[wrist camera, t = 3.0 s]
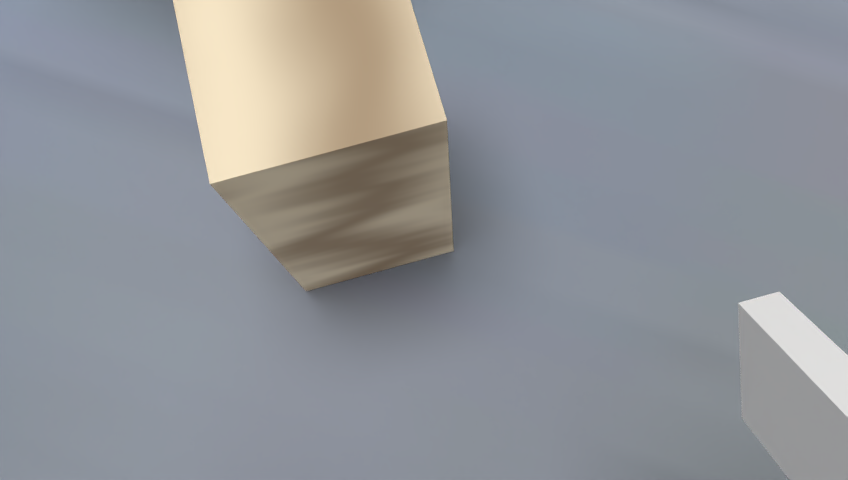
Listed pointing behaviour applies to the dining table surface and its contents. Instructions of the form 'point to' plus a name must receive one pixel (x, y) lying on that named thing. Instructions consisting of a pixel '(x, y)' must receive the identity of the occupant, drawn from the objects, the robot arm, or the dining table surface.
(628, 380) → the dining table surface
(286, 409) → the dining table surface
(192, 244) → the dining table surface
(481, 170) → the dining table surface
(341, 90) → the oak block
